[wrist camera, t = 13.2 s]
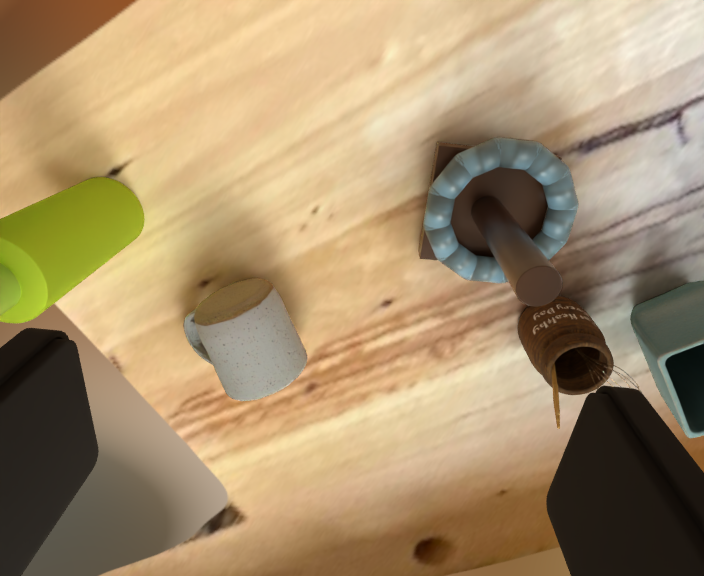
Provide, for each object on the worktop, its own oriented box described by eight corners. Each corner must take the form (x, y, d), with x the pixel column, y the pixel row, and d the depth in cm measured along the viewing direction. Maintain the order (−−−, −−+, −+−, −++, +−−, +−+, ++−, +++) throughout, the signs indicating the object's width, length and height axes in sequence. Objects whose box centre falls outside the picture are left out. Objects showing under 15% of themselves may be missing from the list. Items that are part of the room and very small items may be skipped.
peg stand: (418, 251, 40) (438, 349, 27) (436, 141, 36) (471, 194, 23) (524, 262, 40) (596, 365, 27) (555, 153, 36) (657, 213, 23)
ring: (413, 268, 39) (415, 278, 37) (437, 129, 34) (440, 133, 32) (547, 282, 39) (555, 293, 37) (590, 144, 34) (602, 150, 32)
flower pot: (601, 298, 41) (656, 359, 33) (708, 250, 38) (796, 303, 30) (632, 370, 44) (689, 441, 36) (733, 330, 42) (818, 397, 34)
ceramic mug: (279, 263, 41) (257, 306, 34) (314, 339, 44) (301, 393, 37) (173, 296, 43) (132, 343, 36) (214, 366, 46) (184, 422, 39)
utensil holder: (584, 345, 43) (653, 442, 32) (513, 354, 44) (558, 452, 33) (585, 288, 40) (660, 373, 30) (510, 299, 41) (557, 386, 31)
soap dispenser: (48, 195, 39) (-229, 318, 21) (119, 166, 38) (-114, 272, 20) (90, 257, 41) (-128, 415, 23) (157, 232, 40) (-19, 379, 22)
